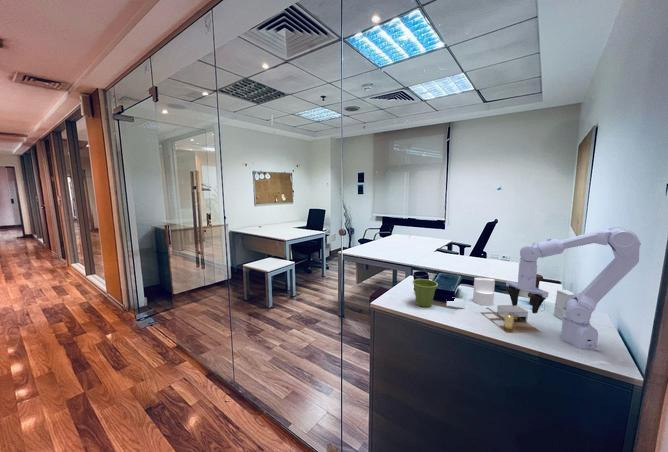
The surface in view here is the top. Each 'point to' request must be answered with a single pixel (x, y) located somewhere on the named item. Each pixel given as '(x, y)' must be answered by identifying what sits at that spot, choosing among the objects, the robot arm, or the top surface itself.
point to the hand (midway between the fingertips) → (524, 308)
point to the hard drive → (456, 304)
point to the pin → (508, 322)
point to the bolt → (538, 278)
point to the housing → (512, 311)
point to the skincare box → (562, 302)
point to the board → (518, 324)
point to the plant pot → (424, 291)
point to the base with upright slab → (483, 291)
